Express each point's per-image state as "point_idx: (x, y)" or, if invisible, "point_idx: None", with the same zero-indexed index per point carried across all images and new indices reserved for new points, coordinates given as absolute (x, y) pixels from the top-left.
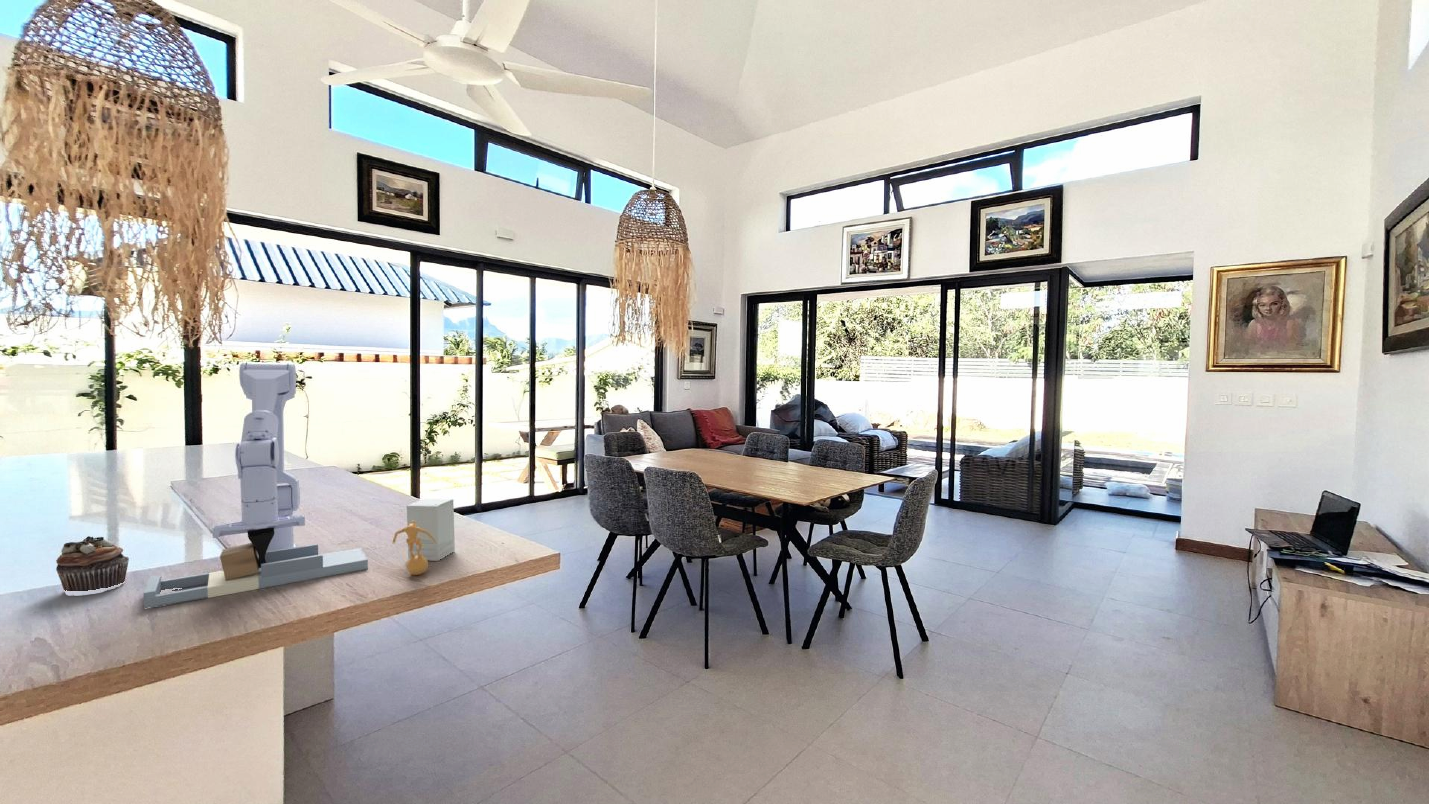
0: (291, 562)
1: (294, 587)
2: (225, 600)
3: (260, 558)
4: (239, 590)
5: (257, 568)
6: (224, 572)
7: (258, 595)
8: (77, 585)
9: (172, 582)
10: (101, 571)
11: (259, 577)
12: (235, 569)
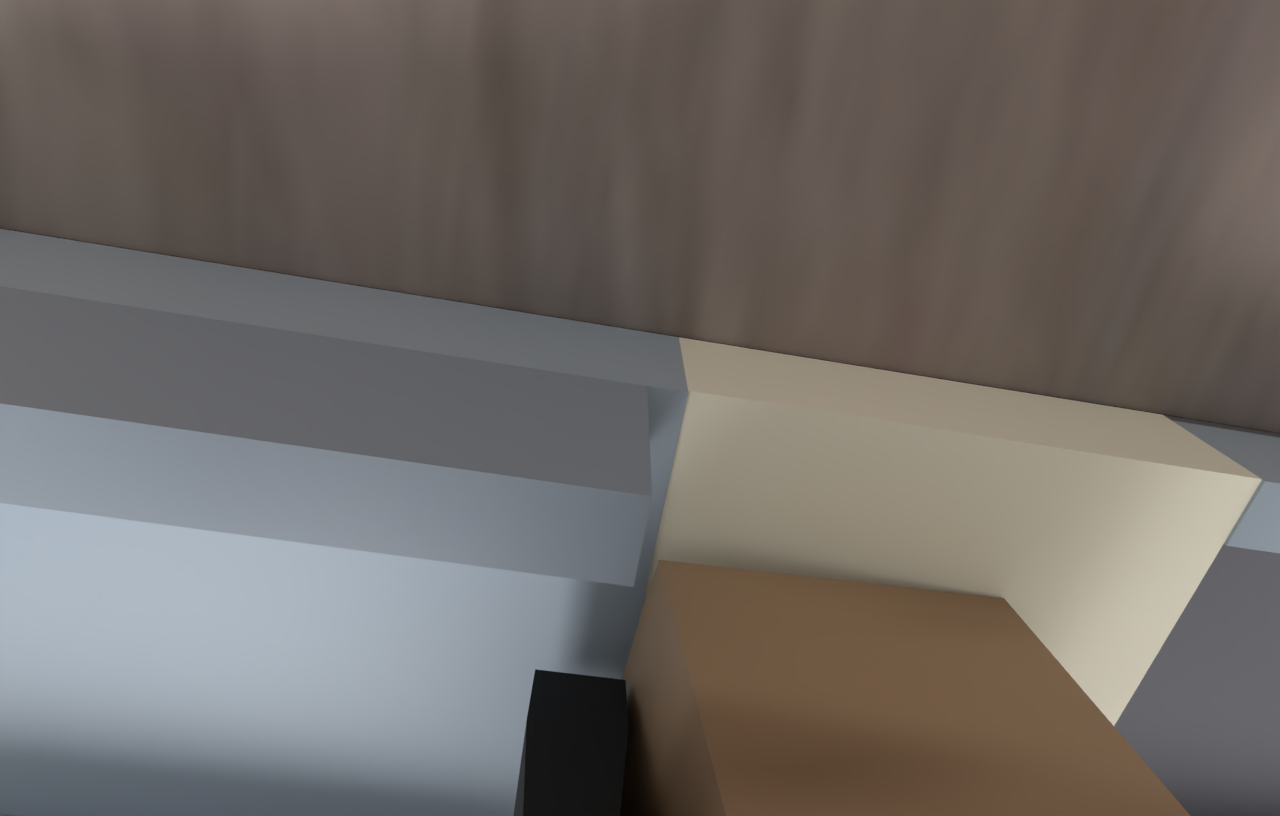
0: (116, 396)
1: (286, 11)
2: (1093, 161)
3: (598, 799)
4: (877, 380)
5: (663, 618)
6: (1079, 693)
7: (751, 31)
8: None
9: None
10: None
11: (663, 437)
12: (961, 684)
